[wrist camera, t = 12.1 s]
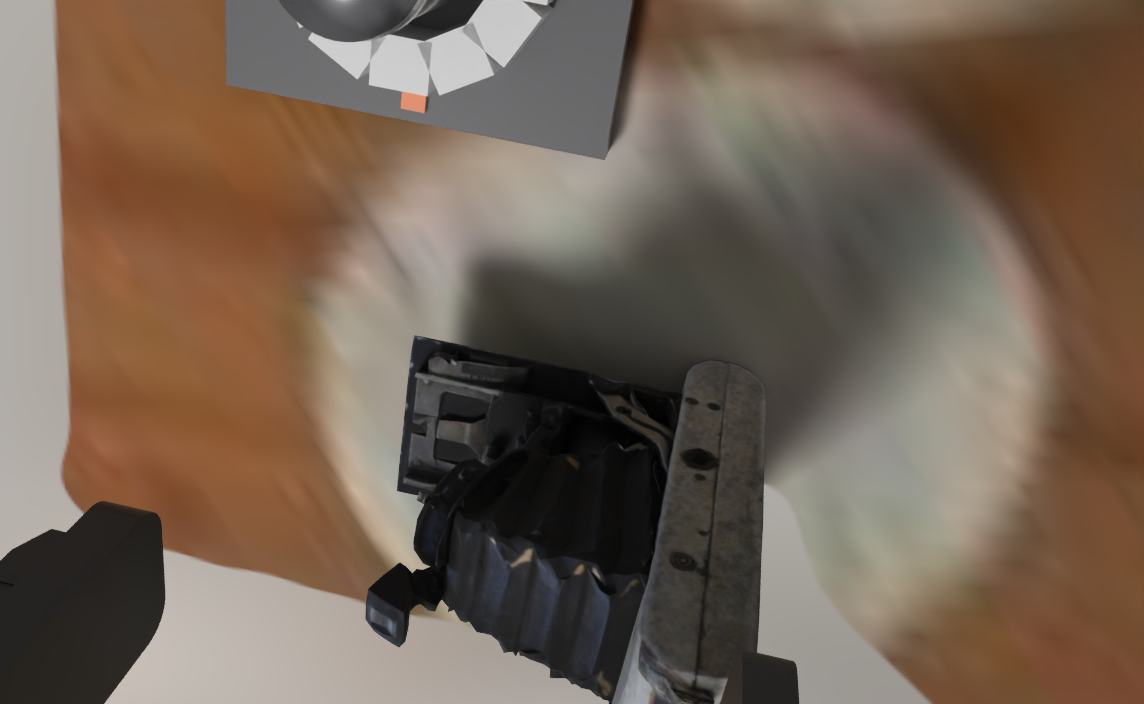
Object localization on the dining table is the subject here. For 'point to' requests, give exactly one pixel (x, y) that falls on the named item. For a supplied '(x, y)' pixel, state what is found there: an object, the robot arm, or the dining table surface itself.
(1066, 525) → the dining table surface
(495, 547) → the vintage camera
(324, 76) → the mount
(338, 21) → the lens
